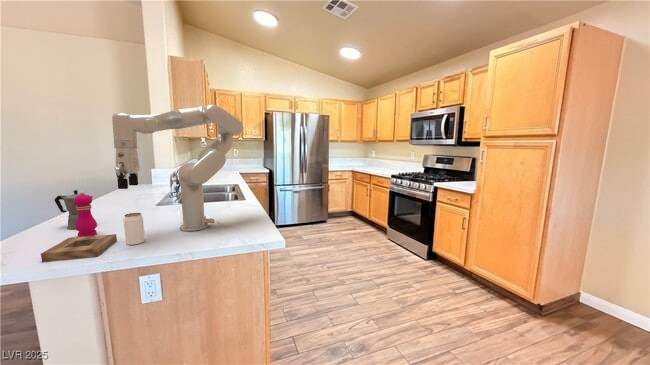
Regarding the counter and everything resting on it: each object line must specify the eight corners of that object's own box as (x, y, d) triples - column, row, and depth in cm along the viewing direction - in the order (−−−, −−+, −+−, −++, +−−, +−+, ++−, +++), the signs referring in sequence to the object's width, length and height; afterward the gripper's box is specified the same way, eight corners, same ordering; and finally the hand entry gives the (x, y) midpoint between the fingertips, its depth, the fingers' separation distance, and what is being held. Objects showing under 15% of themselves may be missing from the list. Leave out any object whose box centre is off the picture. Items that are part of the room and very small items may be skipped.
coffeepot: (101, 223, 136) (97, 188, 133) (89, 228, 127) (85, 191, 124) (65, 224, 133) (60, 189, 130) (51, 230, 124) (45, 192, 121)
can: (148, 240, 113) (146, 213, 111) (133, 246, 107) (130, 217, 105) (137, 238, 115) (135, 211, 113) (122, 244, 109) (119, 215, 107)
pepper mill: (85, 239, 114) (79, 193, 111) (71, 237, 115) (65, 192, 112) (102, 233, 121) (97, 190, 118) (89, 232, 122) (84, 189, 119)
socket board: (117, 241, 112) (116, 234, 112) (97, 256, 97) (96, 248, 97) (69, 244, 107) (68, 237, 107) (41, 261, 92) (40, 253, 92)
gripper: (127, 145, 100) (130, 190, 103) (144, 145, 117) (146, 184, 119) (103, 144, 98) (107, 190, 101) (124, 144, 115) (127, 184, 117)
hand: (128, 187), depth 110 cm, fingers open, 9 cm apart
